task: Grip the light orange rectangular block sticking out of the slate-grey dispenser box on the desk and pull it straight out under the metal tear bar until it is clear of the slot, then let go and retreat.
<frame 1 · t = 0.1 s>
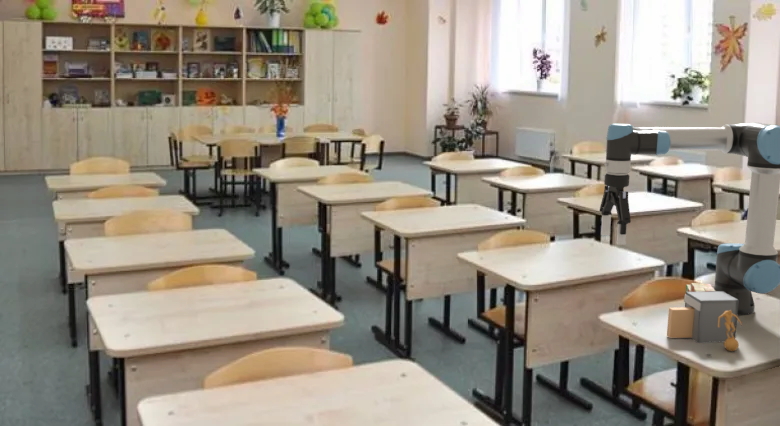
hand: (613, 239, 269), 28 cm above the table, tool pointing down, fingers open, 13 cm apart
stack of blocks: (698, 320, 280), on the table
figurine: (728, 350, 251), on the table
light orange rectangular block: (691, 322, 261), point 5 cm above the table, slide at 0.0 cm
dispenser: (708, 336, 263), on the table
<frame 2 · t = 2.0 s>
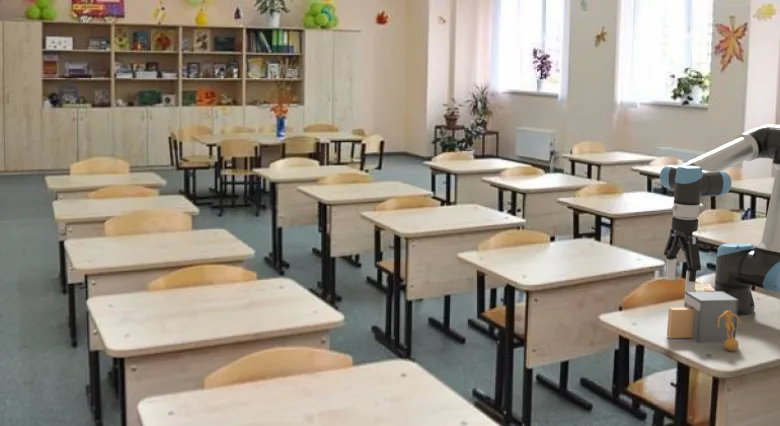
hand: (679, 285, 259), 17 cm above the table, tool pointing down, fingers open, 13 cm apart
nothing on the table moved.
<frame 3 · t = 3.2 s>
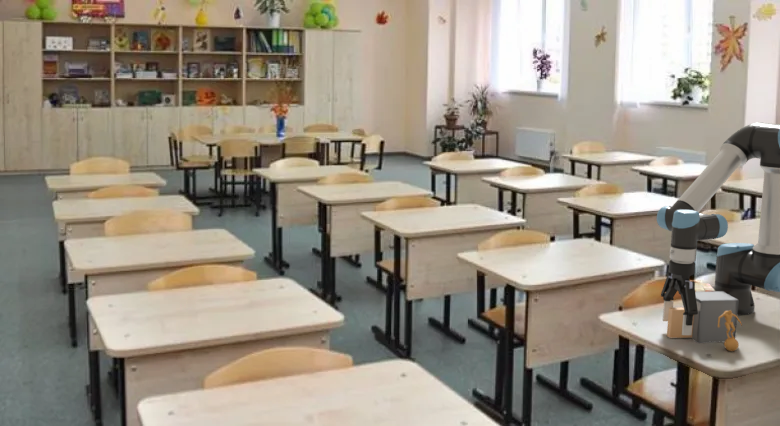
hand: (676, 327, 261), 3 cm above the table, tool pointing down, fingers open, 13 cm apart
nothing on the table moved.
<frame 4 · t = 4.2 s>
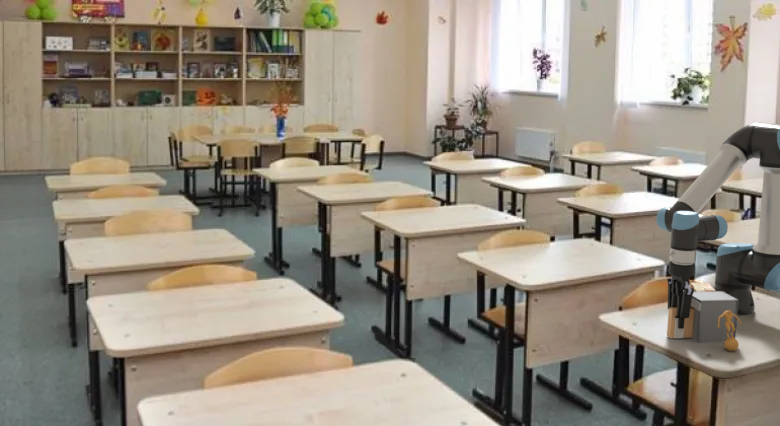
hand: (676, 335, 262), 1 cm above the table, tool pointing down, fingers closed on light orange rectangular block, 2 cm apart
light orange rectangular block: (691, 322, 261), point 5 cm above the table, slide at 0.0 cm, touching gripper
everything else where it was.
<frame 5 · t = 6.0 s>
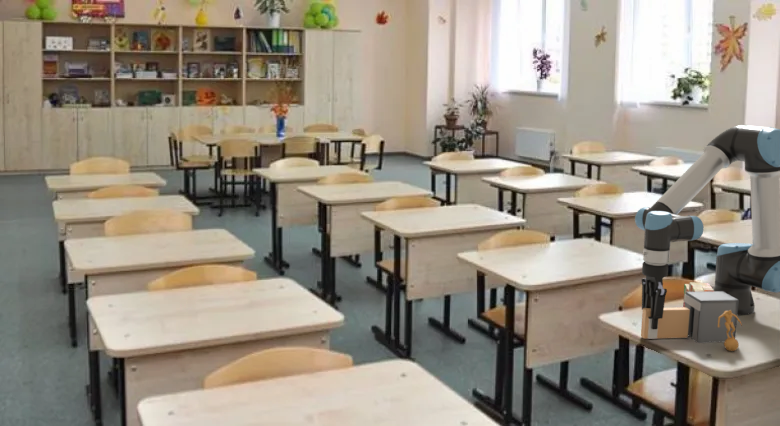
hand: (650, 336, 261), 1 cm above the table, tool pointing down, fingers closed on light orange rectangular block, 2 cm apart
light orange rectangular block: (665, 322, 260), point 5 cm above the table, slide at 8.4 cm, touching gripper
everything else where it was.
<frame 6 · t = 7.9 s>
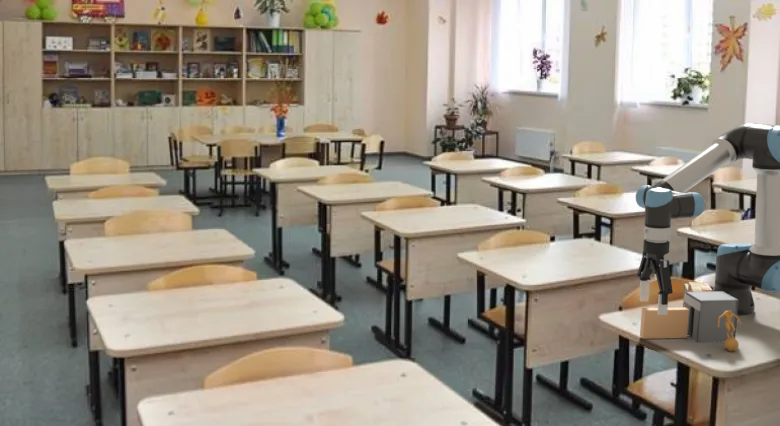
hand: (652, 307, 259), 10 cm above the table, tool pointing down, fingers open, 13 cm apart
light orange rectangular block: (664, 322, 260), point 5 cm above the table, slide at 8.7 cm
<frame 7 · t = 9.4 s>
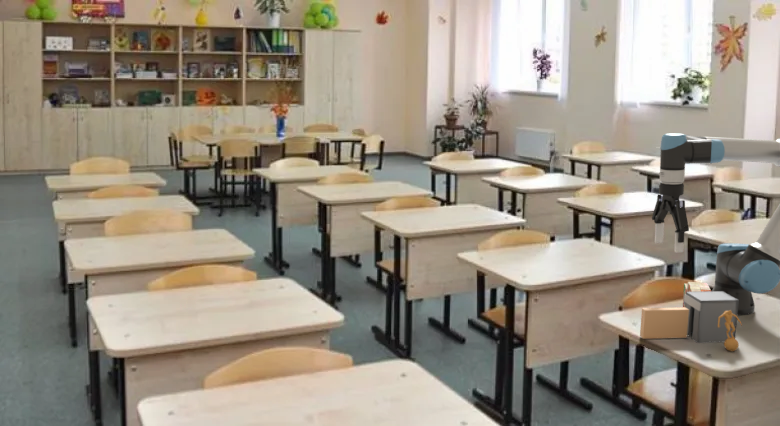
hand: (668, 247, 273), 25 cm above the table, tool pointing down, fingers open, 13 cm apart
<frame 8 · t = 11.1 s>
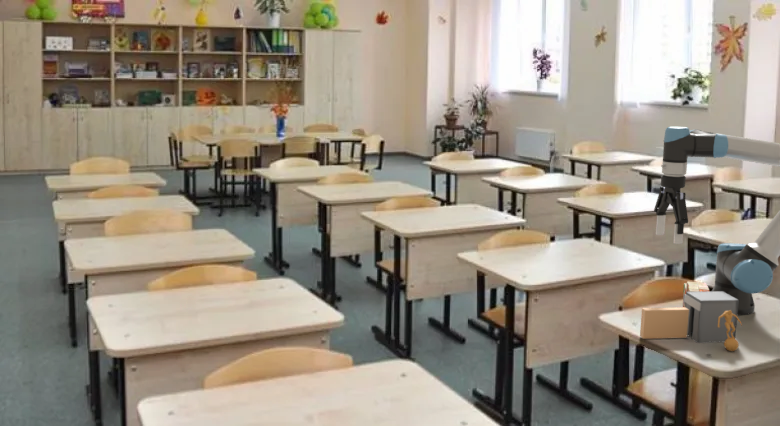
hand: (668, 239, 277), 27 cm above the table, tool pointing down, fingers open, 13 cm apart
at the end: light orange rectangular block slide at 8.7 cm; the gripper is holding nothing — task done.
